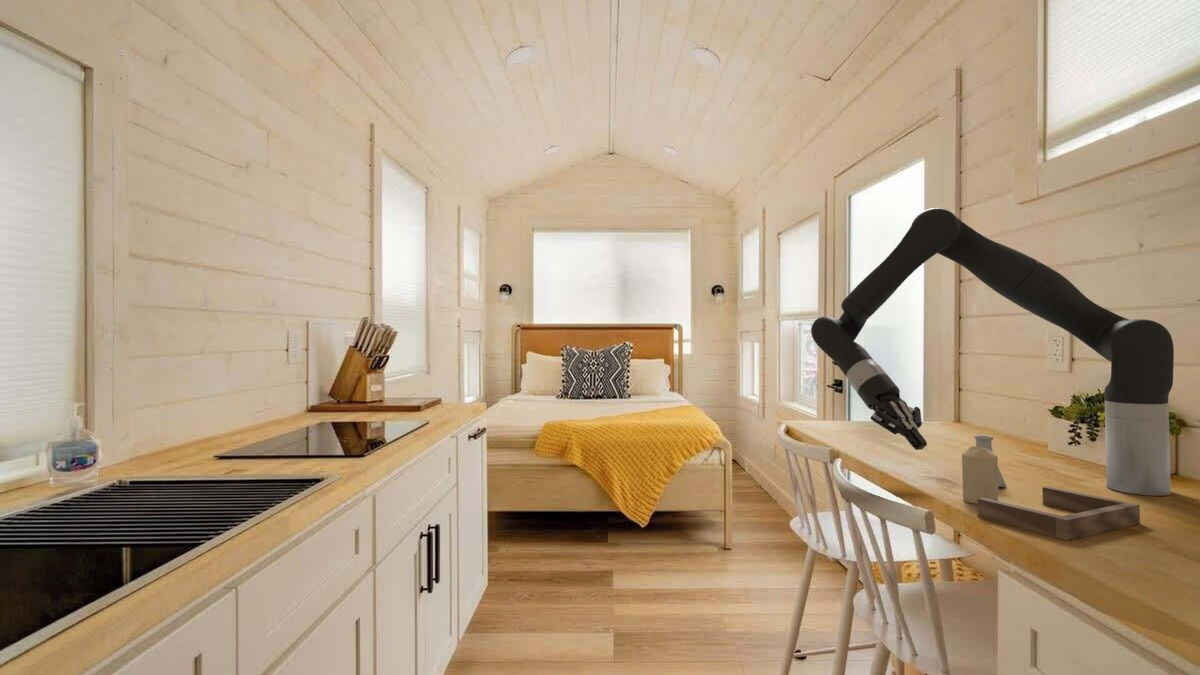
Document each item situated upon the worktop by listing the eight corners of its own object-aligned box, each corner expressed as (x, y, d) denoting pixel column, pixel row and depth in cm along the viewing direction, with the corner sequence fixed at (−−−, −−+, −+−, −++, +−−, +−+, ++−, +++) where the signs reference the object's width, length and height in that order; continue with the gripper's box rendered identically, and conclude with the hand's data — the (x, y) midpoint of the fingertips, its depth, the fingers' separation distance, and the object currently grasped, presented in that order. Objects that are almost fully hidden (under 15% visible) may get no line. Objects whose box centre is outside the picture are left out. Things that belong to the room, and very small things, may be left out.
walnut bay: (1048, 502, 106) (1047, 486, 107) (1139, 523, 94) (1139, 504, 94) (977, 516, 99) (977, 498, 99) (1067, 540, 87) (1067, 520, 87)
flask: (956, 480, 125) (955, 433, 125) (991, 480, 124) (990, 433, 124) (977, 489, 117) (976, 439, 117) (1014, 488, 117) (1013, 438, 117)
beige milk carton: (1004, 506, 105) (1002, 450, 105) (970, 504, 106) (969, 449, 106) (990, 498, 110) (989, 444, 111) (958, 496, 112) (956, 444, 112)
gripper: (858, 373, 126) (909, 438, 115) (903, 371, 131) (956, 433, 120) (840, 396, 131) (887, 461, 119) (884, 393, 136) (933, 455, 125)
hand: (922, 447), depth 120 cm, fingers closed
